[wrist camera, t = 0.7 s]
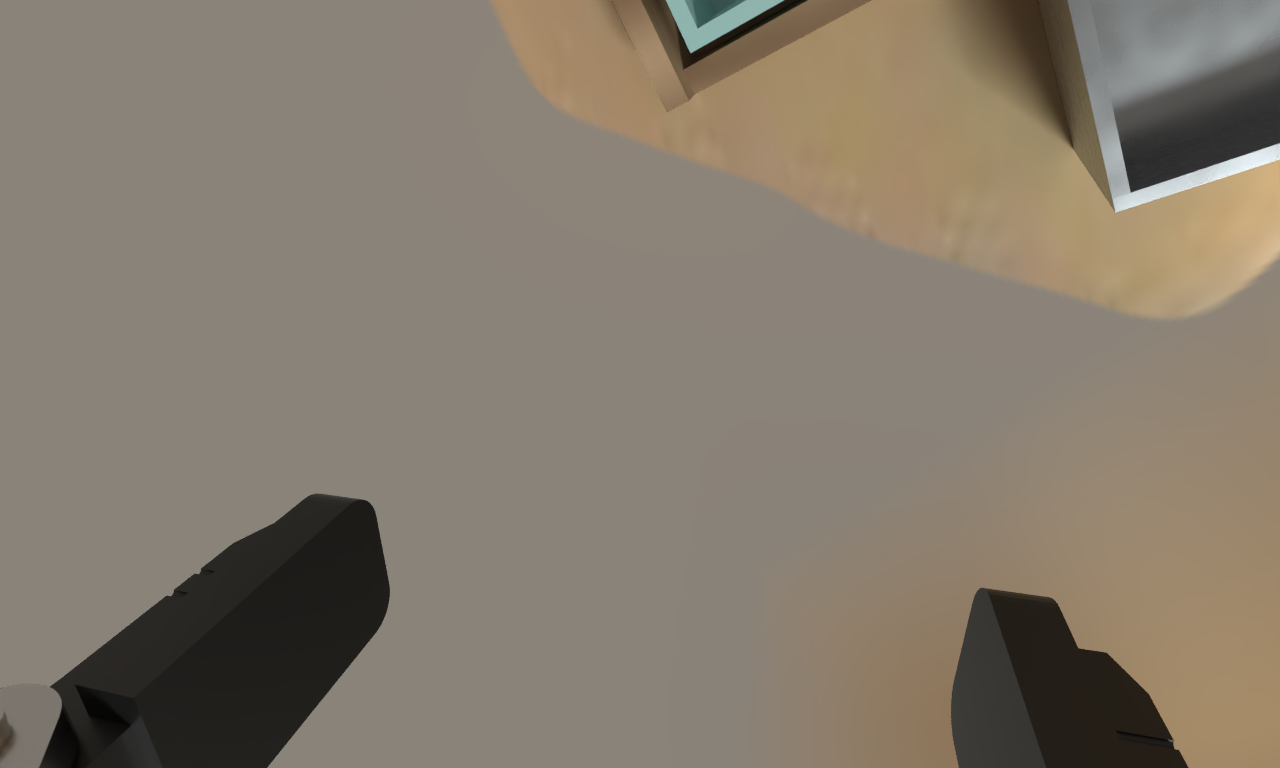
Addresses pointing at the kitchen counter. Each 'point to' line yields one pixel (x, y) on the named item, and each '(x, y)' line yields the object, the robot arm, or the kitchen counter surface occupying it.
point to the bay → (716, 42)
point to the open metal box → (1166, 90)
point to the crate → (713, 17)
